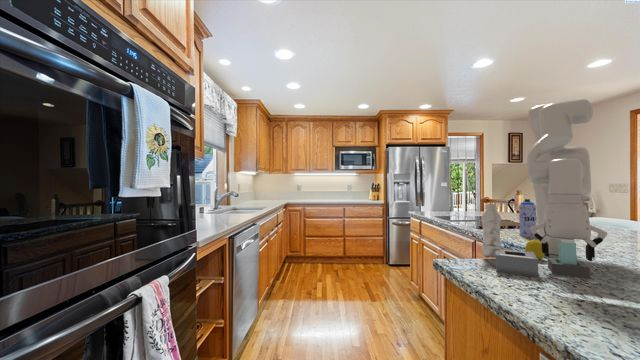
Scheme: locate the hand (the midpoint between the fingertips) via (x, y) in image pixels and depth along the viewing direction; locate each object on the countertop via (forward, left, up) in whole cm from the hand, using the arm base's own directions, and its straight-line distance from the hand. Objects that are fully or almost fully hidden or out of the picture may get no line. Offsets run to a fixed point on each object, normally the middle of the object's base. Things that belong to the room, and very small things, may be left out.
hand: (567, 257), depth 82 cm
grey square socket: (0, 0, -5) cm, 5 cm away
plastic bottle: (-13, -19, -5) cm, 24 cm away
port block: (+5, -13, -5) cm, 15 cm away
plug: (0, 0, -4) cm, 4 cm away
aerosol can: (-79, -2, -5) cm, 79 cm away
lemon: (-15, -6, -5) cm, 17 cm away
